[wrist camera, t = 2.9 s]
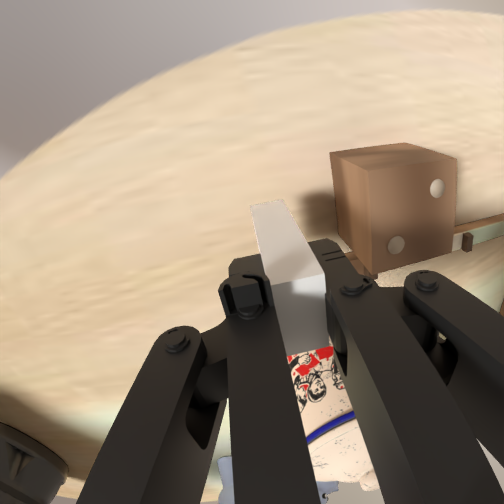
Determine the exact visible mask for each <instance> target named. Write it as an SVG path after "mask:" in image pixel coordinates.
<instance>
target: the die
mask: <svg viewBox="0 0 504 504" xmlns="http://www.w3.org/2000/svg"><path fill="white" fill-rule="evenodd" d="M330 161H331V169H332V177H333V185H334V194H335V203H336V213H337V224H338V234H339V236H340V237H341V238H342V239H343V240H344V241H345V243H346V244H347V245H348V246H349V247H350V249H351V250H352V251H353V252H354V254H355V255H356V256H357V257H358V258H359V260H360V261H361V262H362V263H363V265H364V266H365V267H366V268H367V270H368V271H369V272H370V273H371V275H374V274H377V273H381V272H385V271H388V270H392V269H396V268H399V267H403V266H406V265H410V264H413V263H417V262H420V261H424V260H427V259H431V258H434V257H438V256H441V255H444V254H448V253H451V252H452V246H453V236H454V225H455V210H456V185H457V159H456V158H453V157H450V156H447V155H444V154H441V153H438V152H435V151H431V150H428V149H425V148H422V147H418V146H415V145H411V144H408V143H398V144H389V145H380V146H372V147H365V148H357V149H350V150H343V151H337V152H330Z"/></svg>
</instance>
